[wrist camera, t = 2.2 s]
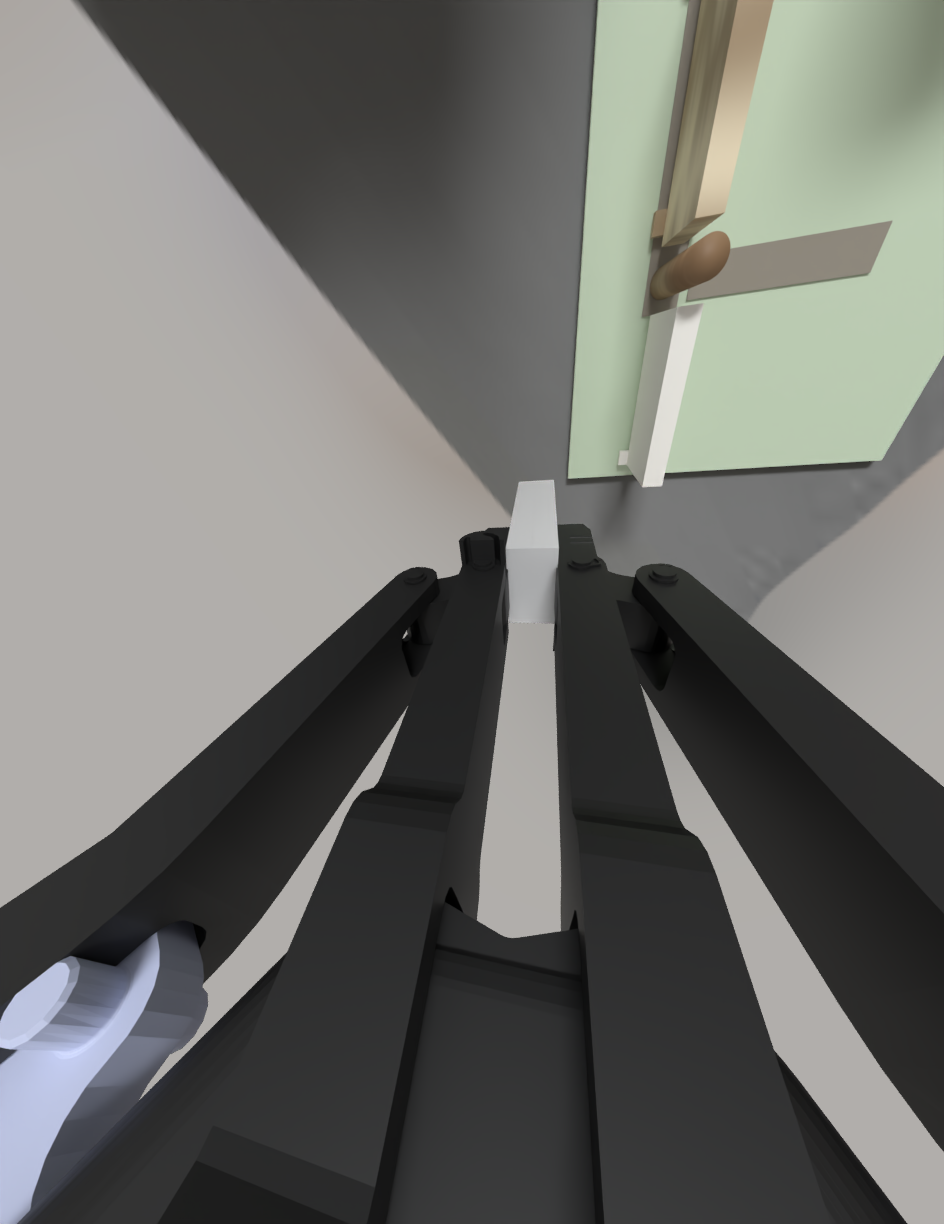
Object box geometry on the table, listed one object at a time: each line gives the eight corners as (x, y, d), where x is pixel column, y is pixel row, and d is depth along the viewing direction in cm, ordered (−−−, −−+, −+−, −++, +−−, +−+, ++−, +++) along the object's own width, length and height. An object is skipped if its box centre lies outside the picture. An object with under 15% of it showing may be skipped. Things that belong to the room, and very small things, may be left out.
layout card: (603, -89, 15) (605, -106, 14) (1352, -368, 10) (1397, -408, 10) (567, 476, 29) (567, 479, 29) (875, 458, 25) (882, 460, 24)
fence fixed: (692, -76, 15) (802, -391, 8) (755, -98, 14) (922, -450, 8) (638, 304, 22) (675, 286, 16) (678, 298, 21) (733, 277, 15)
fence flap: (638, 317, 22) (664, 308, 17) (679, 311, 21) (717, 301, 17) (617, 463, 27) (632, 487, 23) (649, 461, 27) (671, 485, 22)
